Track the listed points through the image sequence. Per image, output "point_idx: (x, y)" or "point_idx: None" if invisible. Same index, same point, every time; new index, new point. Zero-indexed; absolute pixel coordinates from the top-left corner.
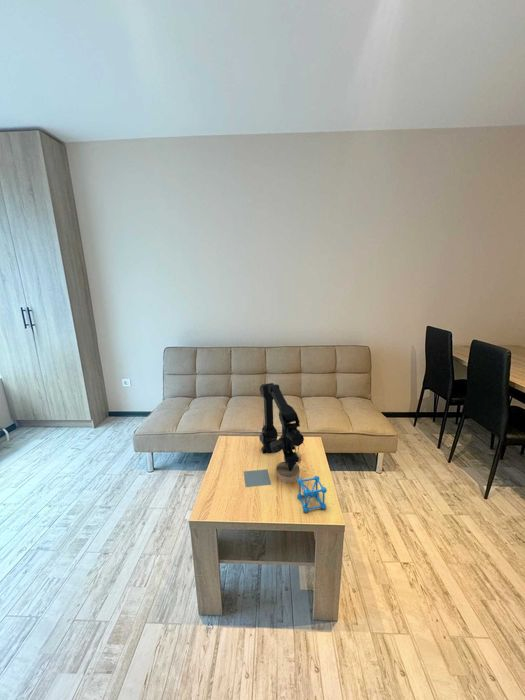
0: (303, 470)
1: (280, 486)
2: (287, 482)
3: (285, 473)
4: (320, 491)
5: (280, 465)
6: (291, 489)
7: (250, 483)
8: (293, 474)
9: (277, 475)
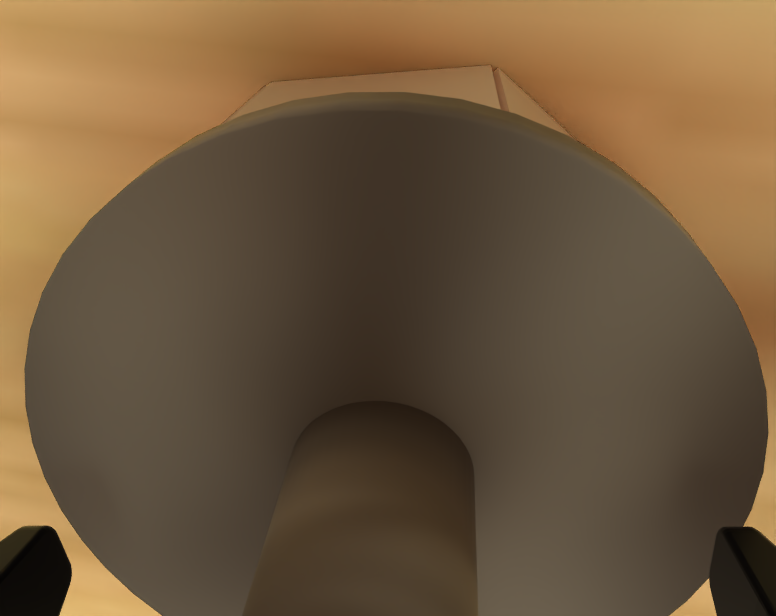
0: None
1: (63, 104)
2: None
3: (88, 370)
4: None
5: (549, 283)
6: (11, 315)
7: None
8: (87, 538)
9: (430, 78)
